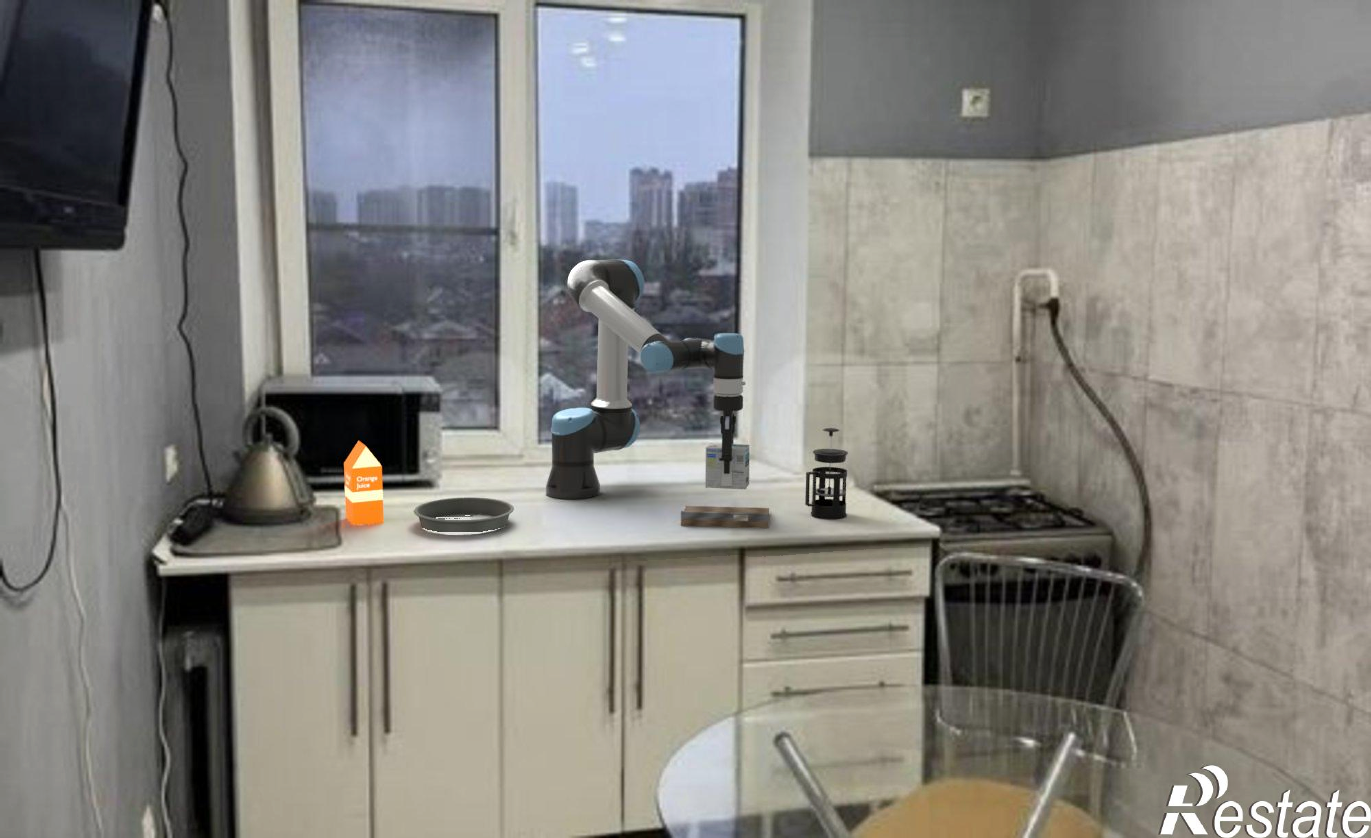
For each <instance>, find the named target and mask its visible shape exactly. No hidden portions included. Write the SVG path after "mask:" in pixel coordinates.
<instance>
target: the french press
mask: <svg viewBox="0 0 1371 838" xmlns="http://www.w3.org/2000/svg"><path fill="white" fill-rule="evenodd" d="M822 431H823V432H827V433H828V435H829V436H828V437H829V438H830V439H829V448H818V449H814V450H813V451H812V453H813V454H814V461H815V462H818V463H823V464H829V465H828V466H820V467H819V466H818V467H815V468H813V469H812V471H806V473H805V497H804V498H805V499H804V500H805V502H804V503H805V506H807V507H811V511H810V516H812V517H813V518H816V519H821V520H831V521H832V520H841V519H842V520H843V519H845V518H847V515H848V514H847V495H846V494H847V477H848V469H846V468H841V467H837V466H834V467H833V466H831V464H840V463H844V462H846V458H847V456H848V454H849V453H848V450H847V451H846V450H844V449H837V448H832V439H833V435H834V433H837V432H839V431H840V429H838V428H836V427H835V428H834V427H828V428H827V427H826V428H823V429H822ZM811 475H812V489H811V490H812V493H811V494H812V497H811V503H810V485H811V484H810V479H811ZM817 478H818V479H819V481H818V488H817ZM841 479H842V489H841ZM826 480H828V487H826ZM831 480H833V487H831ZM817 496H818V499H816V498H817ZM840 497H842V498H840Z"/></svg>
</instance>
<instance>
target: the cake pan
mask: <svg viewBox="0 0 1371 838" xmlns="http://www.w3.org/2000/svg"><path fill="white" fill-rule="evenodd" d="M514 510H515V507H514V506H513V505H512V504H511V503H509V502H507V501H504V500H501V499H496V498H491V497H490V498H488V497H477V496H476V497H472V496H470V497H469V496H468V497H465V496H464V497H450V498H441V499H435V500H431V501H427V502H424V503H421V504H419V505H417V506H416V507H415V508H414V509H413V514H414V515H415V516H417V517H418V521H419V525H420V527H422V528H425V529H427V530H432V531H437V532H483V531H488V530H495V529H498V528H502V527H504V526H505V527H506V526H507V525H508V522H509V518H510V515H511V514H512V513H513V512H514ZM465 515H470V516H465ZM478 515H479V516H481V515H482V516H489V517H485V518H476V519H471V520H445V518H438V519H436V517H472V518H473V517H474V516H478ZM446 519H447V518H446ZM449 519H450V518H449ZM454 519H458V518H454ZM459 519H460V518H459ZM505 527H504V528H505ZM422 528H421V529H422ZM502 529H503V528H502Z"/></svg>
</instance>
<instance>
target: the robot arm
mask: <svg viewBox="0 0 1371 838" xmlns="http://www.w3.org/2000/svg"><path fill="white" fill-rule="evenodd" d="M567 291H568V293H569V296H570V298H571V299H572V301H573V302H574V303H575V304H576V305H577V307H578V308H580V309H581V310H582V311H584V312H586V313H592V314H593V316H595V317H597V318H598V322H597V323H598V325H597V326H598V327H597V328H598V329H597V330H598V332H597V364H596V365H597V367H596V372H597V374H596V375H597V376H596V398H595V399H593V401H592V402H590V408H589V407H575V408H573V407H571V408H567V409H562V410H560V411H558V412H556V413H555V414H554V415H553V416H552V419H551V427H550V432H551V469H550V472H549V475H548V478H547V482H546V484H545V494H546V493H547V494H546V495H547V496H548V497H551V498H555V499H565V500H566V499H567V500H569V499H570V500H579V499H589V498H592V497H593V498H594V497H595V496H598V495H600V494H601V485H600V484H601V483H600V480H599V478H598V475H597V472H596V469H595V459H594V458H595V457H594V456H595V454H598V453H604V452H610V451H621V450H622V449H626V448H629V447H631V446H632V445H633V444H634V443H635V442H637V439H638V436H639V434H640V427H641V424H640V423H641V422H640V418H639V417H638V413H637V412H636V410H634V409H633V408H632V407H633V404H632V402H631V401H630V400H629V399H628V371H629V368H628V365H629V346H630V347H631V348H632V349H633V350H635V351H636V352H637V354H639V356H640V357H639V358H640V363H641V364H642V367H643V368H644V369H645V370H646V372H649V373H659V374H660V373H661V374H662V373H666V372H667V373H668V372H674V371H684V370H693V369H708V370H713V393H714V396H713V410H715V411H721V412H723V414H722V415H720V417H719V423H720V434H721V444H722V456H721V458H719V461H722V471H721V486H732V444H735V443H734V440H735V439H734V438H735V437H734V435H735V432H736V424H737V416H736V415H735V413H734V412H739V411H742V410H743V409H744V396H743V395H742V394H743V392H744V386H745V385H746V384H747V383H746V381H743V380H744V360H745V359H744V357H745V356H744V355H745V348H744V345H745V344H744V336H743V335H742V334H740V333H736V332H735V333H731V332H729V333H728V332H722V333H716V334H714V337H713V339H708V338H707V339H705V338H700V337H687V338H684V339H683V340H670V339H668V338H667V337H665V336H664V335H663V334H662V333H661V332H660V331H658V330H657V329H656V328H655V327H654V326H652V325H651V324H650V323H649V322H648V321H646V320H645V319H644V318H643V317H642V316H641V315H639V314H638V313H637V312H636V311H635V309H636V301H638V300H639V299H641V298H642V295H643V294H644V291H645V279H644V275H643V273H642V271H641V269H639V266H638V265H637V264H636V263H635V262H633V261H631V260H627V259H620V258H619V259H617V258H615V259H599V260H598V259H597V260H594V259H592V260H591V259H589V260H584V261H581V262H579V263H578V264H577V265H575V266H574V267H573V268H572V269H571V271H570V273H569V275H568V278H567Z"/></svg>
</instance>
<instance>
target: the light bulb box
mask: <svg viewBox="0 0 1371 838" xmlns="http://www.w3.org/2000/svg"><path fill="white" fill-rule="evenodd" d="M721 456H722V443H713V442H710V443H709V444H708V445H707V446H706V447H705V488H706V489H707V488H708V489H725V490H726V489H727V490H728V489H729V490H746V489H747V488H748V487H749V486H750V444H738V443H734V444H732V486H721V471H722V461H719V458H721Z"/></svg>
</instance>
